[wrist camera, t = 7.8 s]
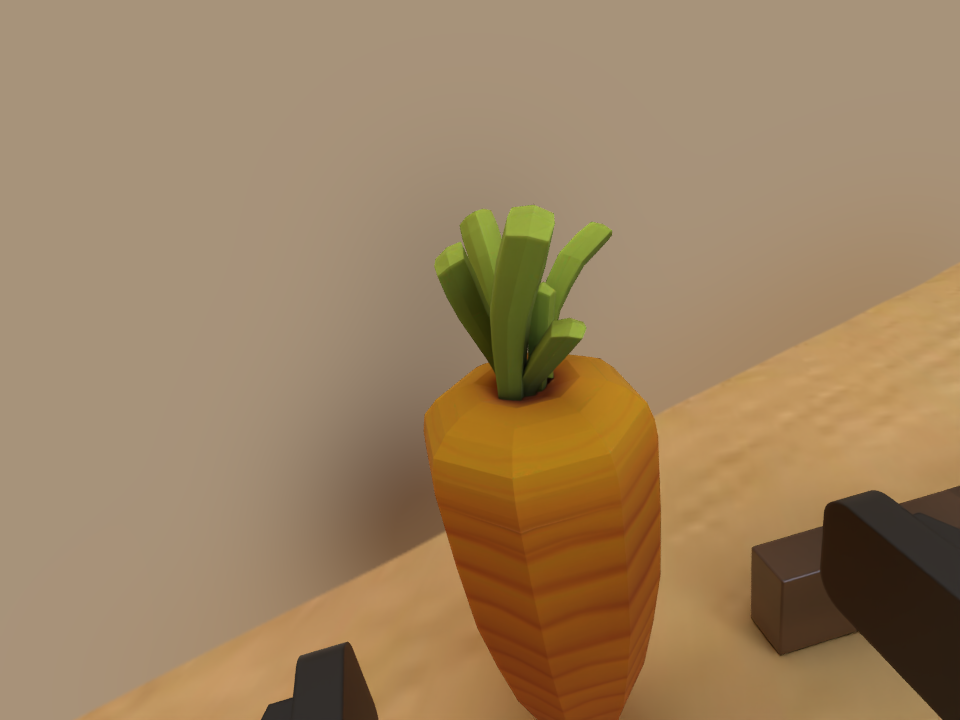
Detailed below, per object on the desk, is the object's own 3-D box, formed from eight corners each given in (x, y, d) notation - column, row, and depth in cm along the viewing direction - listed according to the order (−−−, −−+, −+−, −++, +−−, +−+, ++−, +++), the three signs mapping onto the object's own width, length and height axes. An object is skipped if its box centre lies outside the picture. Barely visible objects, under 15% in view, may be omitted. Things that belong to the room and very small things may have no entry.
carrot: (513, 653, 20) (407, 190, 13) (672, 663, 18) (636, 154, 12) (482, 823, 15) (305, 257, 9) (688, 851, 14) (644, 213, 8)
